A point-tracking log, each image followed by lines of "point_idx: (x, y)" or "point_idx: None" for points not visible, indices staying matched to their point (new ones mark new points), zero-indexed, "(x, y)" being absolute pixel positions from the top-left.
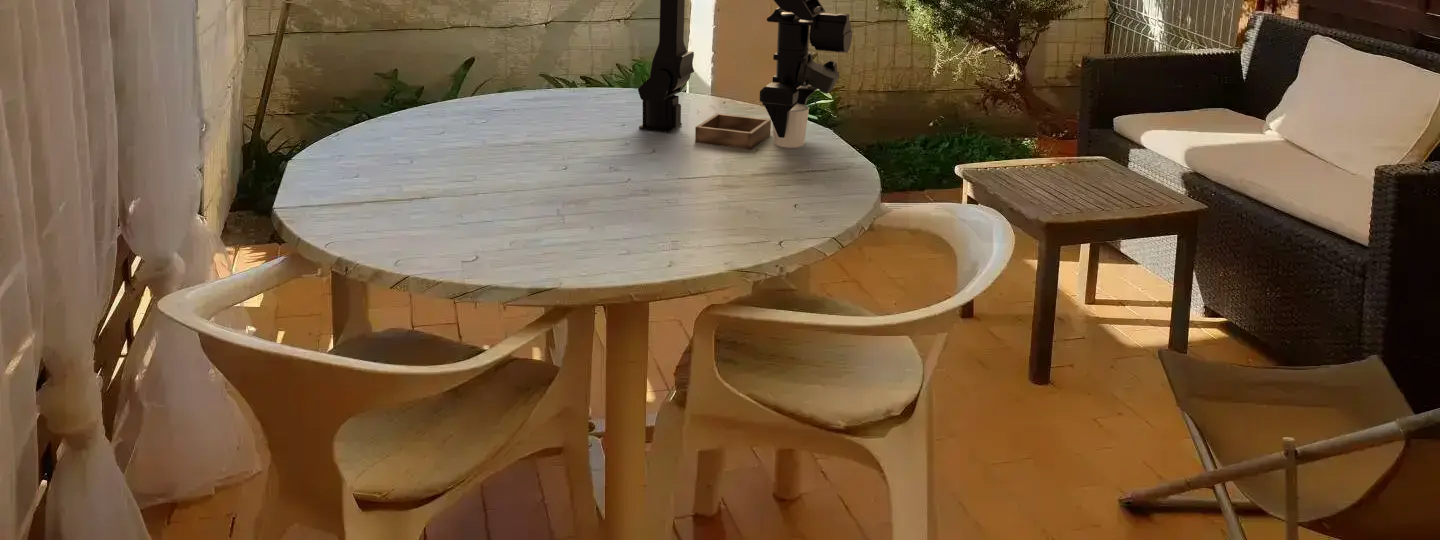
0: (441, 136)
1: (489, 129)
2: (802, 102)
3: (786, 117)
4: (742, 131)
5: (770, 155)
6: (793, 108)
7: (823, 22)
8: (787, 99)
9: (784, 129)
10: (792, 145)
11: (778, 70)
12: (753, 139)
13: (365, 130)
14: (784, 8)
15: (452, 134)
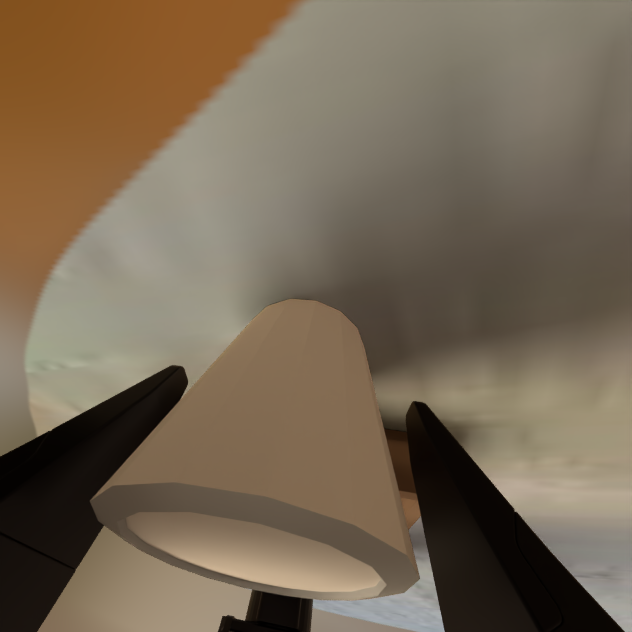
0: (410, 615)
1: (372, 601)
2: (31, 498)
3: (567, 574)
4: (410, 511)
5: (495, 387)
6: (276, 551)
7: None
8: None
9: (460, 448)
10: (360, 339)
11: None
12: (406, 460)
13: (400, 626)
14: None
15: (400, 612)
